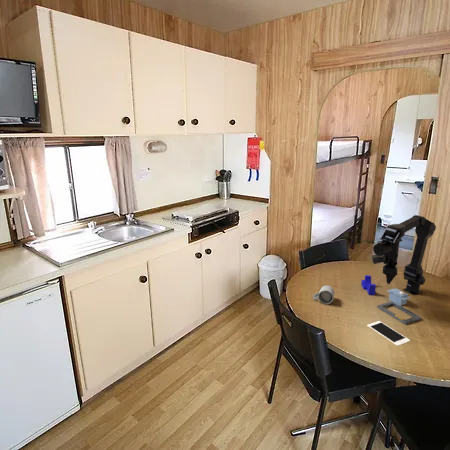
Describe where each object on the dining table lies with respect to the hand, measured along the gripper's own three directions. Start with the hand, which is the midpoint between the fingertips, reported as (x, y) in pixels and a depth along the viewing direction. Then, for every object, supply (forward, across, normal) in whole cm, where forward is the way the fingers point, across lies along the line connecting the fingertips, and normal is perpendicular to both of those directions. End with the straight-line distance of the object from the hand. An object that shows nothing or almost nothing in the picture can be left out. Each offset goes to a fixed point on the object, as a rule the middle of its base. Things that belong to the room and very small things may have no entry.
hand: (388, 279), depth 160 cm
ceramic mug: (+12, +12, -29) cm, 34 cm away
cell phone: (+13, +28, +1) cm, 31 cm away
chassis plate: (+12, +9, +6) cm, 17 cm away
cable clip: (+13, -10, -9) cm, 19 cm away
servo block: (+13, -3, +5) cm, 14 cm away
